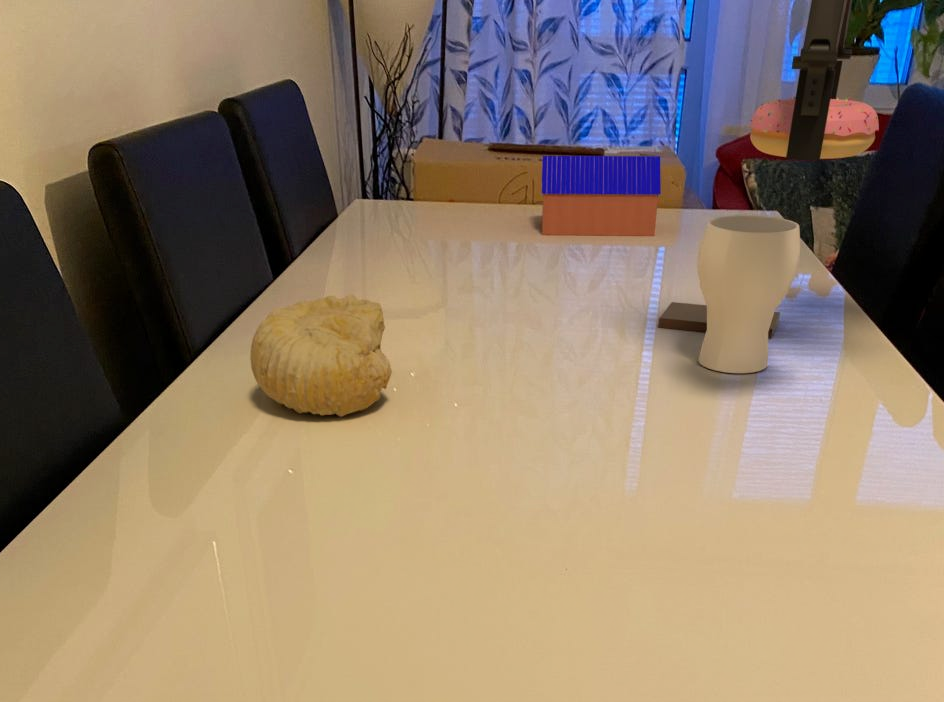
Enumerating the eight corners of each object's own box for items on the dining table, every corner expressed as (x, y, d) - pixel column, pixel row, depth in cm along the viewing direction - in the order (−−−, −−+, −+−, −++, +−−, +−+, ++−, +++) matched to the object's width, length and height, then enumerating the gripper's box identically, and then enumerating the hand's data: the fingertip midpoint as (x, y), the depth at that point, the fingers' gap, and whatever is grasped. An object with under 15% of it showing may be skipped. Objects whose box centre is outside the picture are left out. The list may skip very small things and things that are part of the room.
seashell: (237, 434, 103) (351, 429, 95) (203, 329, 98) (321, 314, 90) (331, 385, 115) (439, 377, 107) (306, 290, 110) (417, 273, 102)
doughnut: (865, 145, 91) (875, 94, 89) (882, 163, 82) (893, 106, 80) (744, 143, 93) (750, 93, 91) (747, 160, 84) (754, 104, 82)
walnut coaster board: (778, 321, 127) (780, 312, 126) (771, 339, 121) (772, 329, 120) (670, 311, 131) (671, 301, 131) (657, 327, 125) (658, 317, 124)
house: (540, 221, 181) (542, 150, 175) (650, 222, 180) (656, 151, 173) (540, 235, 171) (542, 161, 165) (656, 236, 170) (663, 161, 163)
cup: (800, 366, 112) (826, 226, 104) (735, 385, 107) (757, 238, 99) (730, 343, 119) (749, 210, 111) (666, 359, 114) (681, 221, 106)
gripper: (820, -151, 86) (777, 132, 98) (798, -186, 67) (748, 167, 79) (913, -155, 83) (857, 135, 95) (916, -193, 65) (846, 171, 77)
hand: (808, 149), depth 87 cm, fingers closed on doughnut, 11 cm apart
